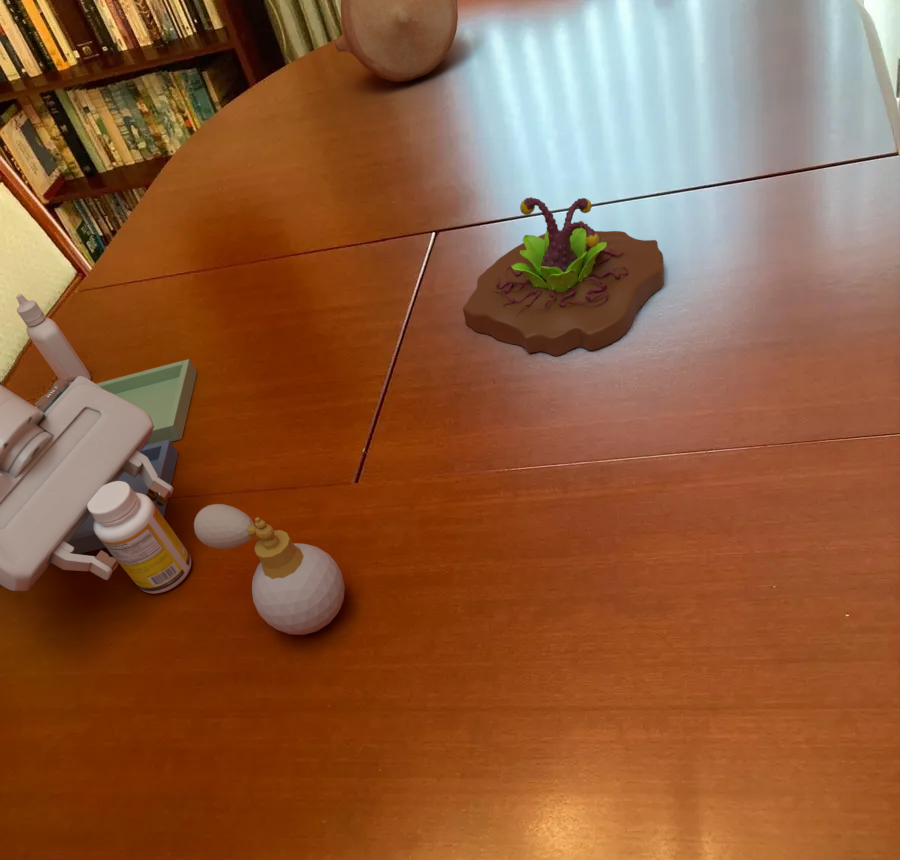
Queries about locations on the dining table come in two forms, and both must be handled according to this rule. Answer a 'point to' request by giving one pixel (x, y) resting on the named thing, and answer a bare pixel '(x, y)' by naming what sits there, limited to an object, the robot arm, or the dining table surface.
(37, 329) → the eye dropper bottle
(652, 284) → the plant
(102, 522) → the supplement bottle
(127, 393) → the green tray
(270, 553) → the perfume bottle
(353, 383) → the dining table surface
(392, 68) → the jug
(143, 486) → the blue tray
